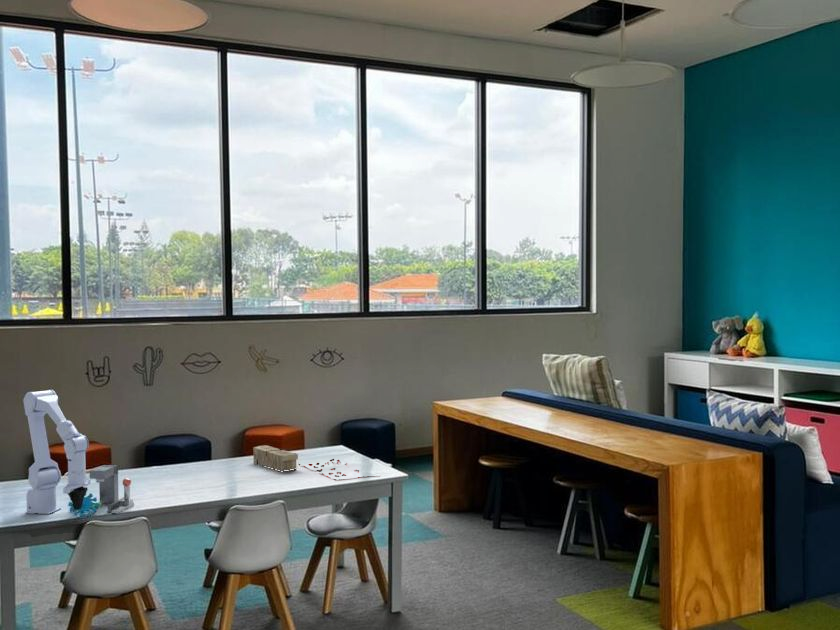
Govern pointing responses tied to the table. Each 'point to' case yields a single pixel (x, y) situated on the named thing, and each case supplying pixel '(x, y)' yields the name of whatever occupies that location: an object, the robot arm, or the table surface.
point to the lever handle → (126, 492)
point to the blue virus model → (86, 506)
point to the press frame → (108, 487)
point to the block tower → (274, 458)
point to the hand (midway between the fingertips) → (77, 508)
